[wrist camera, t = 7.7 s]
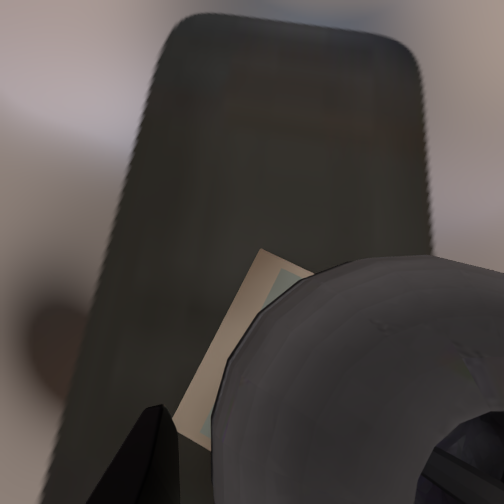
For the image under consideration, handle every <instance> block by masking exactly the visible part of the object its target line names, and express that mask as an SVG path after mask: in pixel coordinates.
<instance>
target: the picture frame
mask: <svg viewBox="0 0 504 504" xmlns="http://www.w3.org/2000/svg"><path fill="white" fill-rule="evenodd" d="M311 275H314V273H311V272H309V271H307V270H305V269H303V268H301V267H299V266H297V265H295V264H292V263H290V262H288V261H286V260H284V259H282V258H280V257H278V256H276V255H273V254H271V253H269V252H267V251H265V250H263V249H261V248H260V250H259V252H258V254H257V256H256V258H255V260H254V262H253V264H252V266H251V268H250V270H249V272H248V273H247V275H246V277H245V279H244V281H243V283H242V285H241V287H240V289H239V291H238V293H237V295H236V297H235V299H234V301H233V302H232V304H231V306H230V308H229V310H228V312H227V314H226V316H225V318H224V320H223V322H222V324H221V326H220V328H219V330H218V331H217V333H216V335H215V337H214V339H213V341H212V343H211V345H210V347H209V349H208V351H207V353H206V355H205V357H204V359H203V360H202V362H201V364H200V366H199V368H198V370H197V372H196V374H195V376H194V378H193V380H192V382H191V384H190V386H189V387H188V389H187V391H186V393H185V395H184V397H183V399H182V401H181V403H180V405H179V407H178V409H177V411H176V413H175V415H174V416H173V418H172V420H173V422H174V424H175V426H176V429H177V432H179V433H181V434H182V435H184V436H186V437H188V438H189V439H191V440H193V441H194V442H196V443H198V444H199V445H201V446H203V447H204V448H206V449H208V450H210V451H211V414H212V410H213V407H214V403H215V400H216V396H217V393H218V389H219V386H220V382H221V379H222V375H223V372H224V368H225V365H226V362H227V359H228V357H229V356H230V354H231V353H232V351H233V350H234V348H235V347H236V345H237V343H238V342H239V340H240V339H241V337H242V336H243V334H244V333H245V331H246V330H247V328H248V327H249V325H250V324H251V322H252V321H253V319H254V318H255V316H256V315H257V313H258V312H259V311H261V310H262V309H263V308H264V307H266V306H267V305H268V304H269V303H271V302H272V301H273V300H274V299H276V298H277V297H278V296H279V295H281V294H282V293H283V292H284V291H286V290H287V289H288V288H289V287H291V286H292V285H293V284H294V283H296V282H297V281H298V280H300V279H303V278H306V277H308V276H311Z"/></svg>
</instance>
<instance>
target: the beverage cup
mask: <svg viewBox="0 0 504 504" xmlns="http://www.w3.org/2000/svg"><path fill="white" fill-rule="evenodd" d="M211 481H212V485H213V496H214V502H215V504H504V273H500V272H497V271H493V270H489V269H485V268H481V267H476V266H472V265H468V264H464V263H460V262H456V261H452V260H448V259H444V258H440V257H436V256H431V255H415V256H396V257H376V258H365V259H359V260H356V261H353V262H345V263H343V264H340V265H337V266H335V267H332V268H329V269H327V270H324V271H321V272H319V273H316V274H314V275H311V276H308V277H306V278H303V279H300V280H298V281H297V282H296V283H294V284H293V285H292V286H291V287H289V288H288V289H287V290H286V291H284V292H283V293H282V294H281V295H279V296H278V297H277V298H276V299H274V300H273V301H272V302H271V303H269V304H268V305H267V306H266V307H264V308H263V309H262V310H261V311H259V312H258V313H257V315H256V316H255V318H254V319H253V321H252V322H251V324H250V325H249V327H248V328H247V330H246V331H245V333H244V334H243V336H242V337H241V339H240V340H239V342H238V343H237V345H236V347H235V348H234V350H233V351H232V353H231V354H230V356H229V357H228V359H227V362H226V365H225V368H224V372H223V375H222V379H221V382H220V386H219V389H218V393H217V396H216V400H215V403H214V407H213V410H212V414H211Z"/></svg>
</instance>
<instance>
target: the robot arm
mask: <svg viewBox="0 0 504 504" xmlns="http://www.w3.org/2000/svg"><path fill="white" fill-rule="evenodd" d="M85 504H180V484H179V452H178V433H177V429H176V426H175V424H174V422H173V420H172V418H171V415H170V413H169V411H168V409H167V407H166V406H165V405H163V404H161V405H156V406H152V407H148V408H146V409H145V410H144V411H143V412H142V414H141V415H140V417H139V418H138V420H137V422H136V423H135V425H134V426H133V428H132V430H131V431H130V433H129V434H128V436H127V438H126V439H125V441H124V442H123V444H122V446H121V447H120V449H119V450H118V452H117V454H116V455H115V457H114V458H113V460H112V461H111V463H110V465H109V466H108V468H107V469H106V471H105V473H104V474H103V476H102V477H101V479H100V481H99V482H98V484H97V485H96V487H95V489H94V490H93V492H92V493H91V495H90V497H89V498H88V500H87V501H86V503H85Z"/></svg>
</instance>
